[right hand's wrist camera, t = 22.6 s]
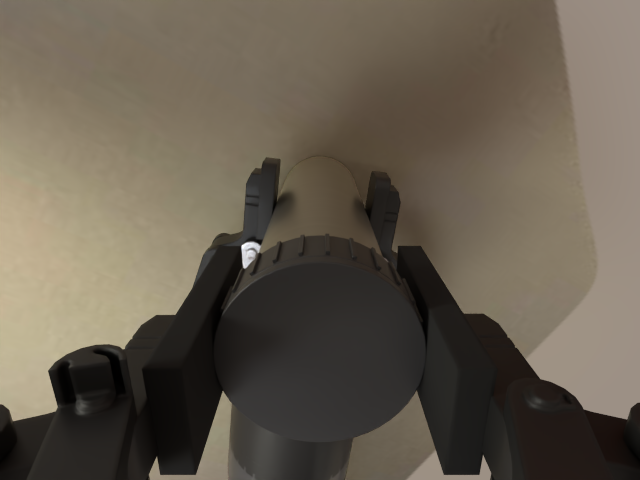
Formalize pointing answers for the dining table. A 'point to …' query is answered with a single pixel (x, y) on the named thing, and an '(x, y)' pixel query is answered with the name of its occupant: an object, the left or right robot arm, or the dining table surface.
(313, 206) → the silver metal cylinder
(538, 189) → the dining table surface
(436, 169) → the dining table surface
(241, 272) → the lid
